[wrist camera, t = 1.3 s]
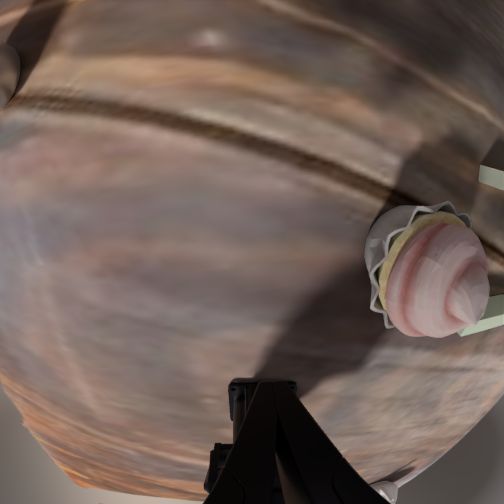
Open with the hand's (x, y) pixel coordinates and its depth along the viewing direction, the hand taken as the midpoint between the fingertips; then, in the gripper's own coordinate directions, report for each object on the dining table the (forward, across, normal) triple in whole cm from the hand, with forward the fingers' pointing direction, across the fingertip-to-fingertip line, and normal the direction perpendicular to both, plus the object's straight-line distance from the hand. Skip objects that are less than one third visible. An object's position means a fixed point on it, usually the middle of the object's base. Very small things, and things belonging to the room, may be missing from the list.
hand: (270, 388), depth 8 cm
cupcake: (+12, -11, 0) cm, 16 cm away
